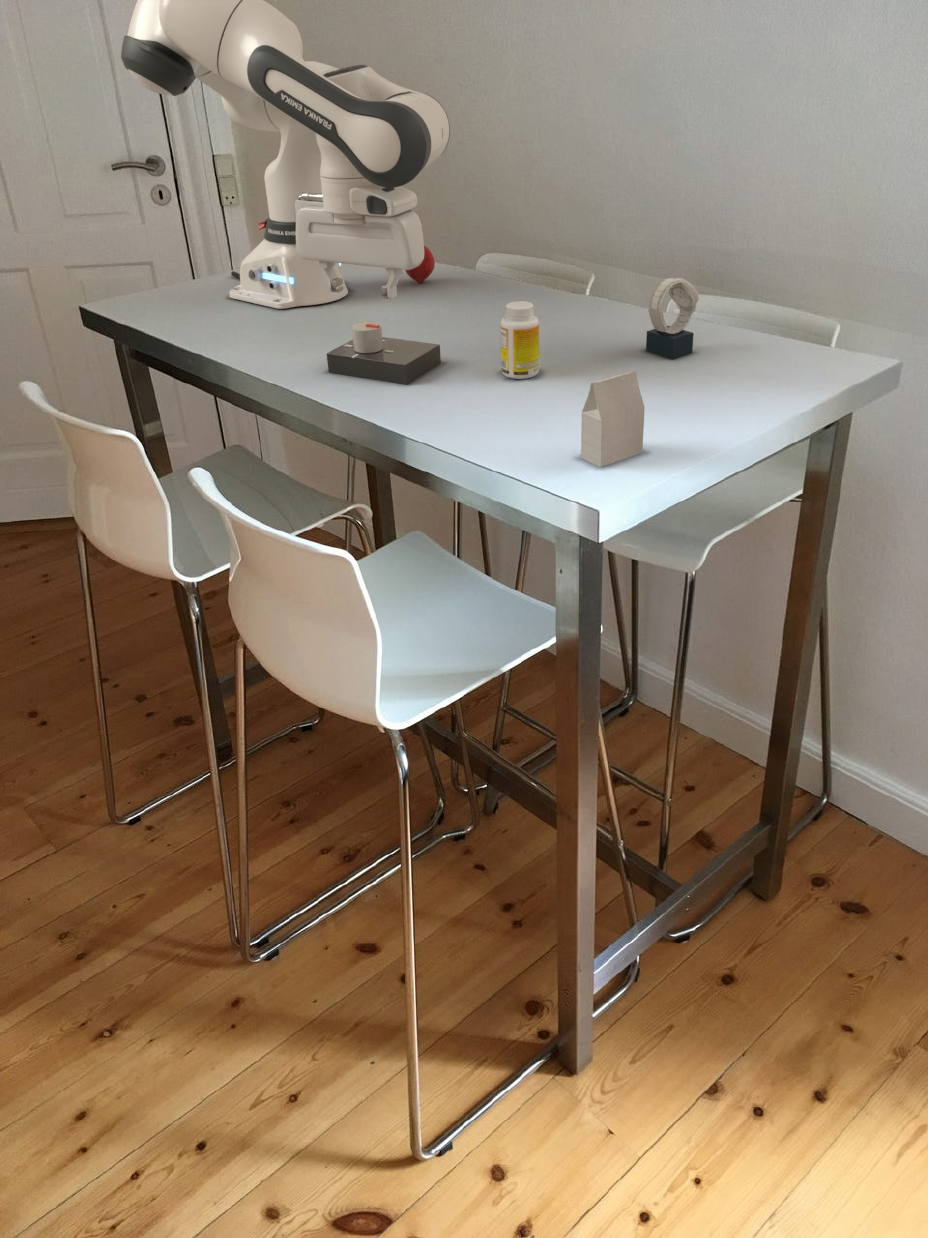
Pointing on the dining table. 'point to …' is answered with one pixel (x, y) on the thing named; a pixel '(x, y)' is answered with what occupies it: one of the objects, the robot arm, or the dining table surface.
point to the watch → (673, 337)
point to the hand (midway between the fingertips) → (362, 294)
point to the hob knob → (367, 337)
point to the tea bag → (612, 420)
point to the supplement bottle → (519, 341)
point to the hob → (386, 360)
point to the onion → (423, 267)
